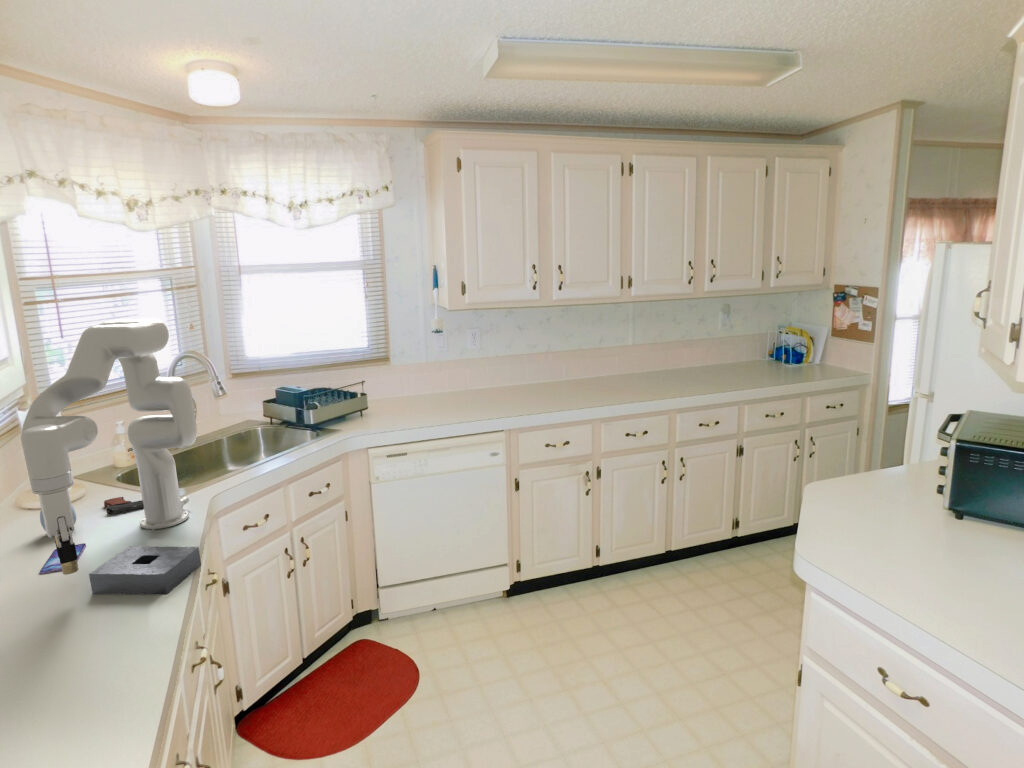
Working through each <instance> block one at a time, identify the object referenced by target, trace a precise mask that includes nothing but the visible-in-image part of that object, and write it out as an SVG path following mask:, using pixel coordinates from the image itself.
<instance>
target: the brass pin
mask: <svg viewBox="0 0 1024 768" xmlns="http://www.w3.org/2000/svg"><path fill="white" fill-rule="evenodd" d="M67 531H68V529H67ZM57 532H58V533H60V531H57ZM68 536H69V535H68ZM60 538H61V536H60ZM54 539H55V541H56V544H57V547H58V543H57V538H56V535H55V536H54ZM56 544H55V545H56ZM61 568H62V571H61V572H62V574H63V575H71V574H74V573H76V572H78V571H79V564H78V561H77V560H75V561H71V562H68V563H64V564H61Z"/></svg>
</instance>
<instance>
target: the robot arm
mask: <svg viewBox="0 0 1024 768" xmlns="http://www.w3.org/2000/svg"><path fill="white" fill-rule="evenodd" d="M169 333H170V332H169V330H168V327H167V325H166V324H165V323H164V322H163V321H162V320H160V319H157V318H141V319H140V318H137V319H134V318H133V319H114V320H108V321H107V320H106V321H102V322H101V323H99V324H97V325H94V326H90V327H88V328H86V329H85V330H84V331H83V332H82V333H81V335H80V338H79V341H78V343H77V345H76V347H75V350H74V353H73V355H72V357H71V360H70V363H69V364H68V367H67V369H66V373H65V374H64V375H63V376H62V377H60V378H59V379H57V380H56V381H54V382H53V383H52V384H50V386H48V387H47V388H46V389H44V391H42V392H41V393H40V394H39V395H38V396H37V397H35V399H34V400H33V401H32V403H31V404H30V406H29V409H28V411H27V413H26V415H25V418H24V422H23V424H22V428H21V434H20V441H21V446H22V451H23V455H24V461H25V464H26V469H27V474H28V478H29V482H30V483H29V484H30V489H31V492H32V494H35V495H38V500H39V505H40V509H41V510H42V515H43V520H44V524H45V529H46V531H45V532H46V534H47V537H48V538H49V539H52V538H53V537H55V535H56V538H57V543H58V547H57V544H56V540H55V541H54V543H55V549H57V553H58V557H59V559H60V563H61V564H64V563H68V562H71V561H75V560H77V559H78V558H77V553H76V548H75V545H76V544H75V542H74V538H73V535H72V533H74V531H75V528H76V527H75V524H74V519H73V512H72V506H71V504H72V502H71V496H70V495H71V494H70V490H69V489H70V488H71V487H73V486H74V484H75V483H74V477H73V472H72V468H71V463H70V462H71V461H70V457H69V453H70V452H74V451H78V450H82V449H85V448H86V447H89V446H90V445H91V444H93V442H95V440H96V438H97V435H98V431H99V430H98V425H97V423H96V422H95V420H93V419H92V418H91V417H88V416H85V415H62V416H61V415H60V416H59V415H58V414H59V413H60V412H61V411H62V410H64V409H65V408H67V407H68V406H70V405H73V404H74V403H77V402H78V401H81V400H83V399H85V398H88V397H90V396H92V395H95V394H97V393H99V392H101V391H103V390H104V389H105V388H106V386H107V384H108V380H109V378H110V375H111V372H112V369H113V366H114V364H115V362H116V360H118V361H119V362H120V365H121V367H122V371H123V378H124V383H125V388H126V389H125V390H126V393H127V399H128V404H129V406H130V408H131V409H132V410H134V411H136V412H142V413H148V412H149V413H155V412H157V413H158V412H169V413H170V414H156V415H154V414H152V415H151V414H150V415H144V416H143V415H142V416H140V417H139V416H138V417H137V418H134V419H133V420H131V422H130V423H128V427H127V437H128V440H129V443H130V445H131V448H132V450H133V454H134V458H135V462H136V469H137V472H138V481H139V486H140V492H141V497H142V498H141V499H142V500H143V506H144V508H143V511H144V517H142V518H141V519H140V521H139V525H140V528H142V529H146V530H160V529H161V530H162V529H167V528H170V527H174V526H176V525H179V524H181V523H183V522H184V521H186V520H187V519H188V518H189V516H190V514H189V511H188V510H186V509H184V505H186V504H188V503H189V502H190V499H189V497H187V496H184V497H182V498H181V495H180V494H181V493H180V488H179V481H178V476H177V475H178V473H177V467H176V461H175V458H174V456H173V455H172V453H171V452H170V451H169V450H168V449H178V448H179V449H181V448H187V447H190V446H192V445H193V444H194V443H195V442H196V440H197V435H198V429H197V428H198V427H197V420H196V413H195V407H194V400H193V395H192V390H191V387H190V385H189V383H188V382H187V381H186V380H185V379H184V378H182V377H179V376H169V377H168V376H166V377H164V376H163V377H162V376H161V375H160V372H159V371H160V370H159V365H158V361H157V359H156V357H155V354H154V353H157V352H160V351H162V350H163V349H164V348H165V347H166V346H167V344H168V342H169V337H170V336H169V335H170V334H169ZM57 415H58V416H57ZM41 510H40V511H41ZM67 529H68V531H67ZM57 531H60V533H58V532H57ZM68 535H69V536H68ZM60 536H61V538H60Z"/></svg>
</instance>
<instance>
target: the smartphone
mask: <svg viewBox="0 0 1024 768" xmlns="http://www.w3.org/2000/svg"><path fill="white" fill-rule="evenodd" d="M86 547H87V544H86V543H85V542H84V543H83V542H82V543H77V544H75V548H76V553H77V558H78V559H77V562H79V559H81V556H82V554H83V552H84V550H85V549H86ZM38 572H39V574H40V575H46V574H51V573H57V572H62V568H61V563H60V559H59V557H58V553H57V548H55V549H54V550H53V551H52V552H51V554H50V555H49V557H48V558H47V560H46V561H45V563H44V564H43V565H42V567H41V568H40V570H39V571H38Z"/></svg>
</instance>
